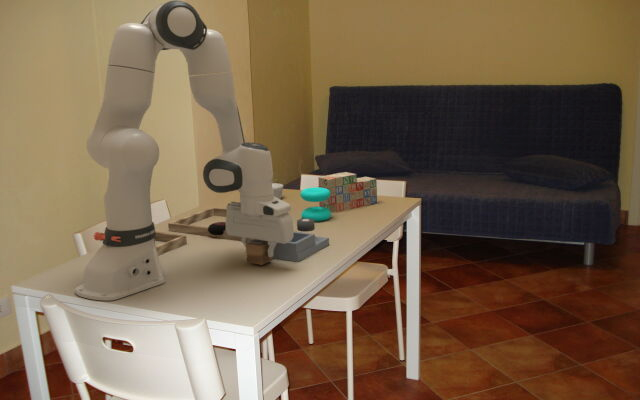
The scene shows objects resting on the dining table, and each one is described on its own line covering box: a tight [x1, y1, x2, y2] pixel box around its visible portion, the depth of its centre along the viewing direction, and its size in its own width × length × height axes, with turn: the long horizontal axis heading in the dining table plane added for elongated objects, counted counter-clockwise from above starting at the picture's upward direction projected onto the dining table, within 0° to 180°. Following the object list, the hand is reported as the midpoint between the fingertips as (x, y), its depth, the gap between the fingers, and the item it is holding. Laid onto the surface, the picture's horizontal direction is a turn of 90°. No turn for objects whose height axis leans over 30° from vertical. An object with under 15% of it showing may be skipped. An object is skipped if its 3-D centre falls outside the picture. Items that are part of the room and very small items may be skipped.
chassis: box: [273, 230, 330, 262], centre depth 185 cm, size 17×11×5 cm, turn 150°
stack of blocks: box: [317, 171, 378, 214], centre depth 234 cm, size 21×6×12 cm, turn 124°
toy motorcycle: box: [208, 221, 226, 235], centre depth 210 cm, size 25×5×16 cm
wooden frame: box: [154, 230, 188, 256], centre depth 195 cm, size 15×19×2 cm
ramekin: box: [272, 182, 284, 200], centre depth 251 cm, size 11×11×5 cm
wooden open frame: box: [167, 206, 254, 242], centre depth 213 cm, size 23×32×2 cm
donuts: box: [300, 186, 332, 223], centre depth 219 cm, size 10×10×10 cm
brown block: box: [245, 239, 274, 266], centre depth 175 cm, size 5×5×6 cm
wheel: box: [296, 218, 316, 233], centre depth 189 cm, size 5×5×3 cm
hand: (259, 254), depth 175 cm, fingers closed on brown block, 5 cm apart
